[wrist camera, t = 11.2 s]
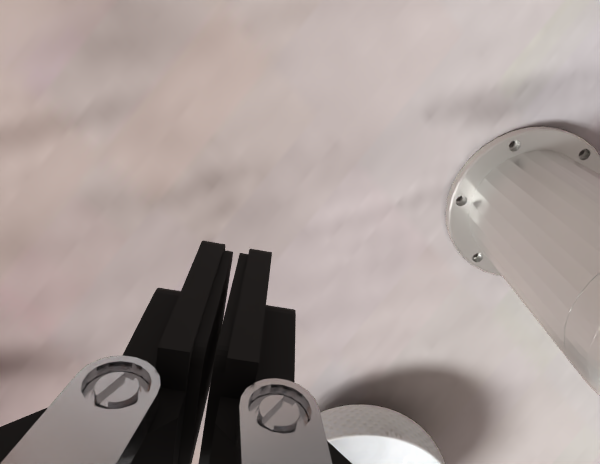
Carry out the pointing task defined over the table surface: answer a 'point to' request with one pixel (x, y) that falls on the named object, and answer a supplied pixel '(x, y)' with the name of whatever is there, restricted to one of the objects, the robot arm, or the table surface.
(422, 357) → the table surface
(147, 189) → the table surface
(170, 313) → the robot arm
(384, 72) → the table surface
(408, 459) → the cereal bowl
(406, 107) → the table surface
